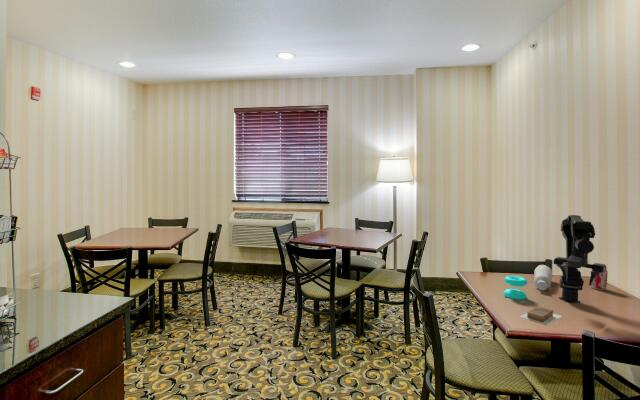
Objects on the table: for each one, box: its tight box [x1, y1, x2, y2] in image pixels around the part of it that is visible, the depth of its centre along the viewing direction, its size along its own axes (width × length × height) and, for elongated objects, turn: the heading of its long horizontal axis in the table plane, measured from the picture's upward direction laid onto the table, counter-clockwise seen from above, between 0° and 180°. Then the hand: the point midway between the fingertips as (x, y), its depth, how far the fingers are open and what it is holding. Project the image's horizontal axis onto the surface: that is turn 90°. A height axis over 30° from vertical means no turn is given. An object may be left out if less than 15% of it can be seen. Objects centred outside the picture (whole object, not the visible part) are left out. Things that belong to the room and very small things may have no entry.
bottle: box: [533, 264, 553, 291], centre depth 204 cm, size 9×9×30 cm
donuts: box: [503, 275, 528, 301], centre depth 183 cm, size 10×10×10 cm
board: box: [526, 306, 554, 322], centre depth 156 cm, size 2×6×11 cm
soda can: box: [590, 269, 608, 291], centre depth 200 cm, size 7×7×12 cm
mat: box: [519, 312, 562, 326], centre depth 157 cm, size 16×11×1 cm
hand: (577, 283), depth 165 cm, fingers open, 9 cm apart
